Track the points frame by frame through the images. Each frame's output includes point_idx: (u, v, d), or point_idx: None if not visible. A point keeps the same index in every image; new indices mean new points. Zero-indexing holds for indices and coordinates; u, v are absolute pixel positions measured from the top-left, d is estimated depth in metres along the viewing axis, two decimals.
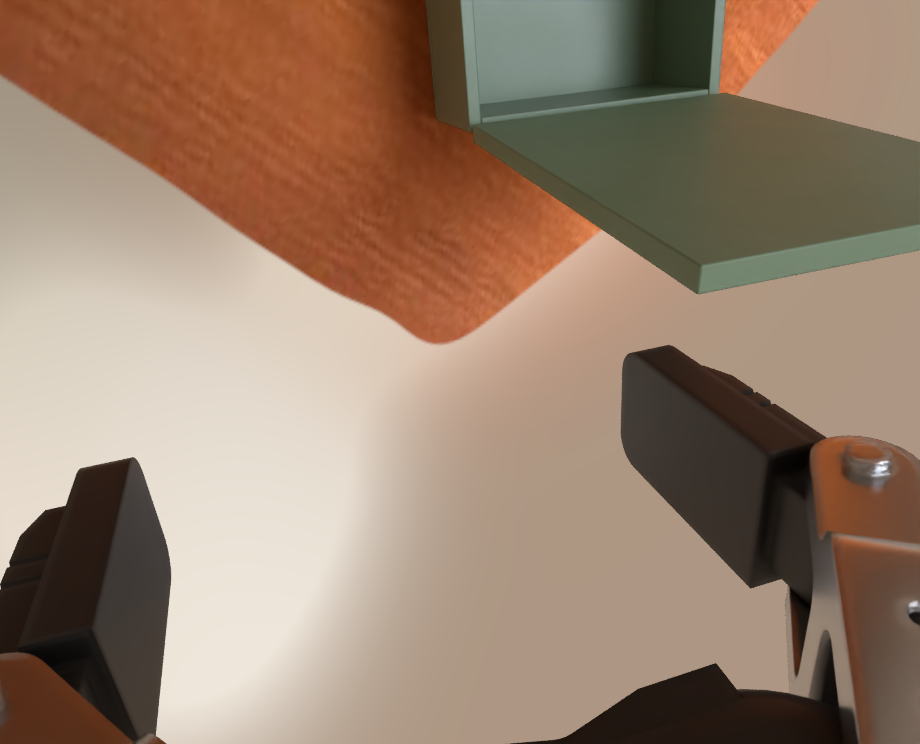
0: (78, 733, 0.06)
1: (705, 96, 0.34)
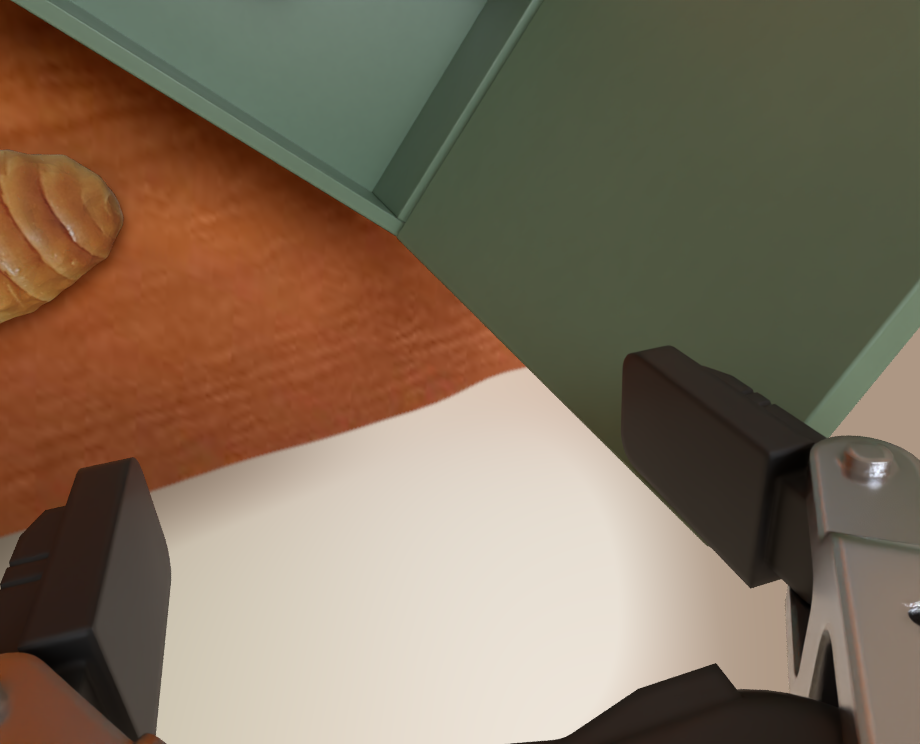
0: (78, 733, 0.06)
1: None
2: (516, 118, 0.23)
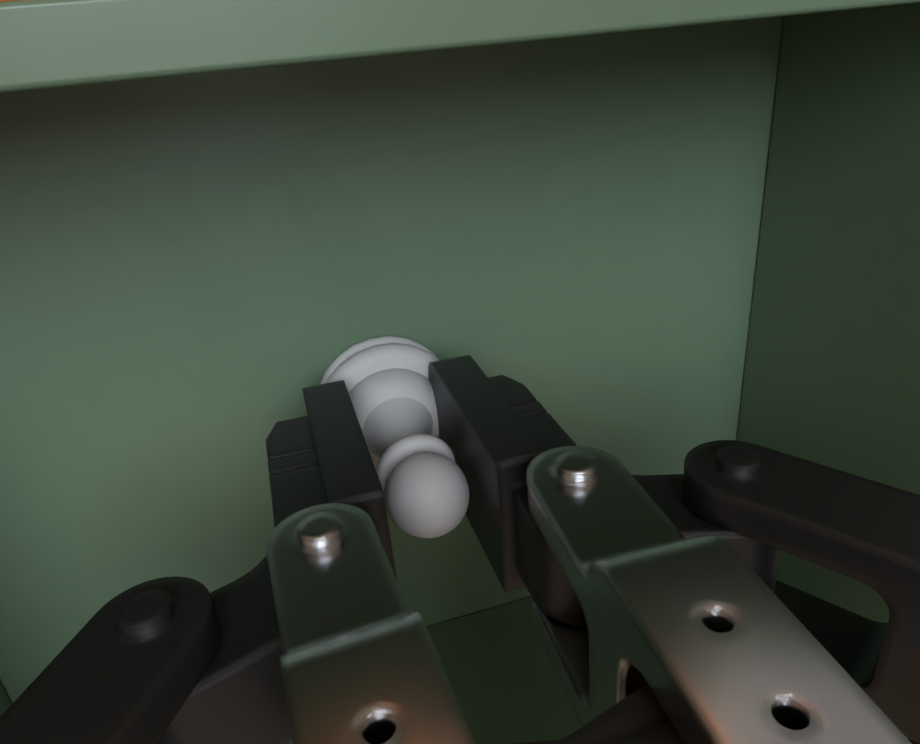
0: (377, 588, 0.07)
1: None
2: None
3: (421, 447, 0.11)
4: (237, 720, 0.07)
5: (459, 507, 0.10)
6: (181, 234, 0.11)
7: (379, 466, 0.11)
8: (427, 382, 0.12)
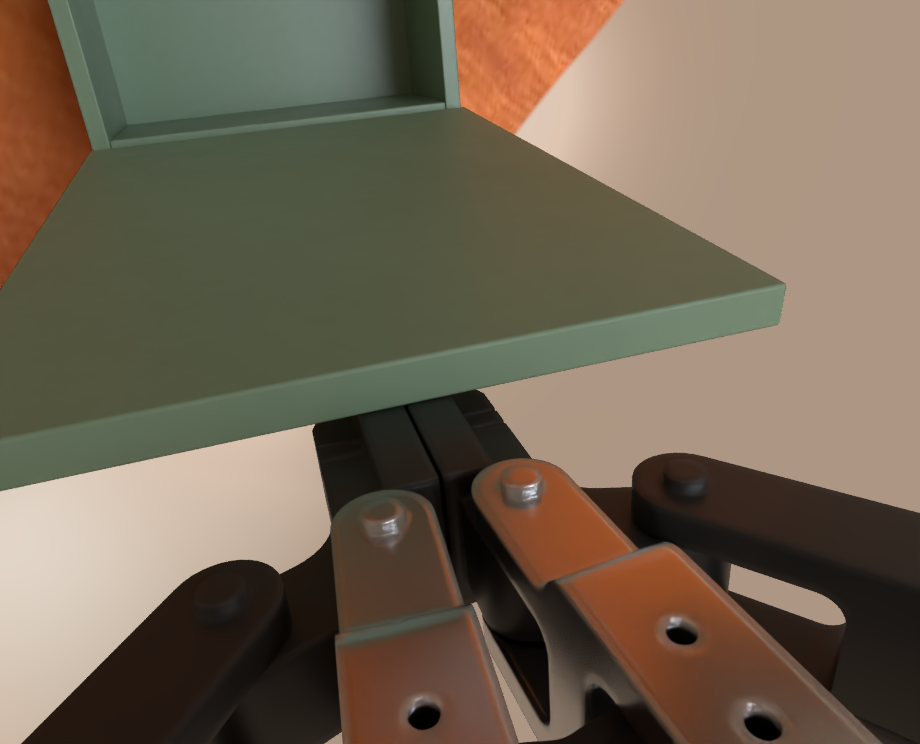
0: (434, 577, 0.07)
1: (432, 112, 0.26)
2: (266, 150, 0.22)
3: None
4: (302, 707, 0.07)
5: None
6: None
7: None
8: None
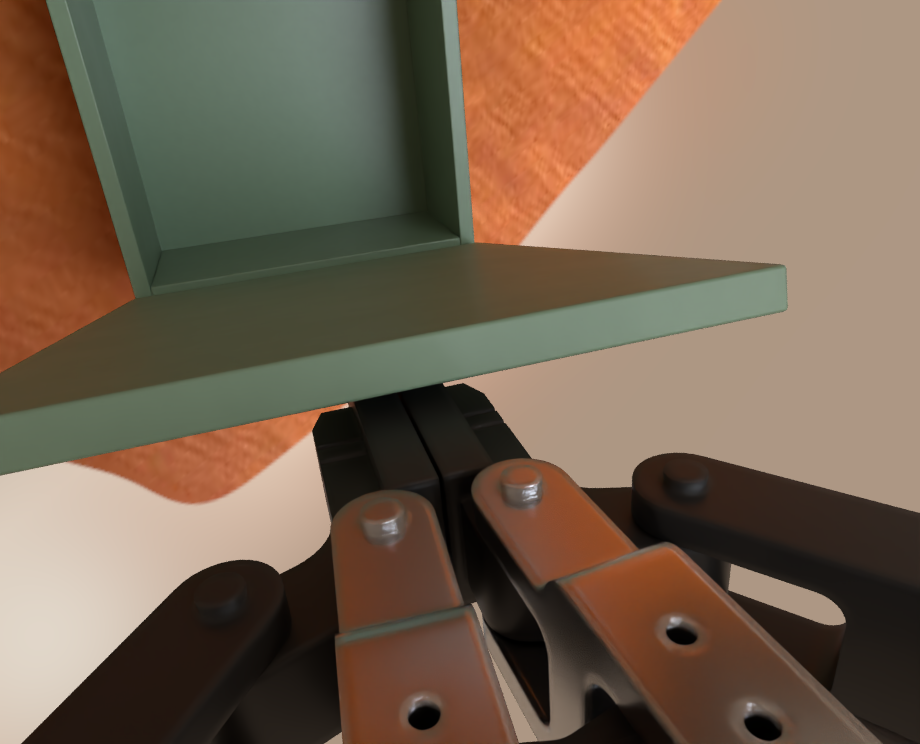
0: (434, 577, 0.07)
1: (447, 247, 0.28)
2: (292, 278, 0.24)
3: None
4: (302, 707, 0.07)
5: None
6: None
7: None
8: None
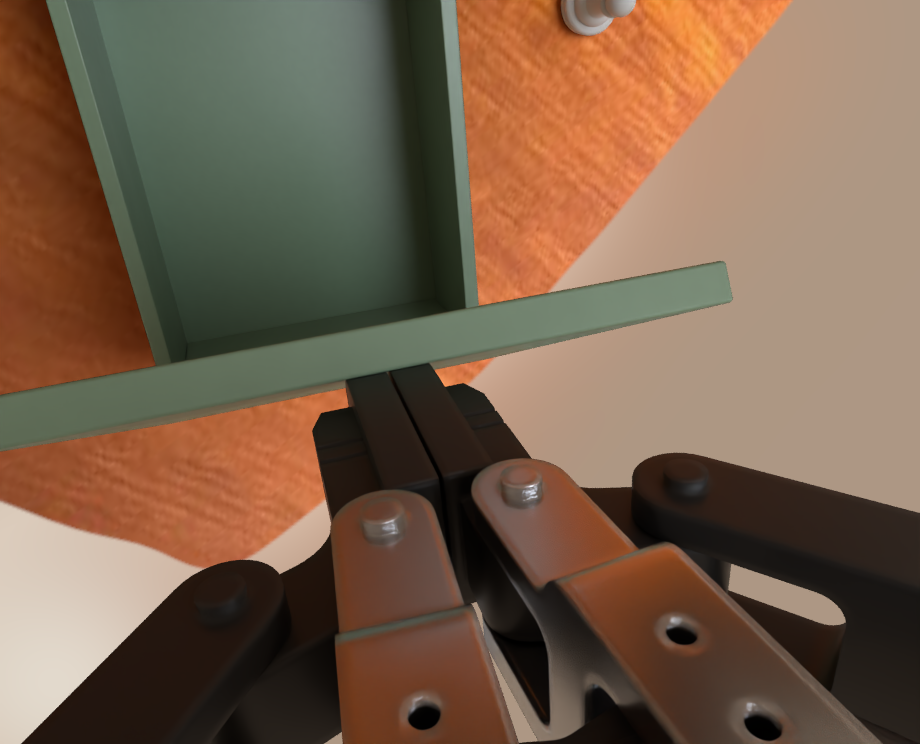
0: (433, 577, 0.07)
1: None
2: None
3: None
4: (302, 707, 0.07)
5: (628, 9, 0.29)
6: (356, 69, 0.30)
7: None
8: (607, 19, 0.32)
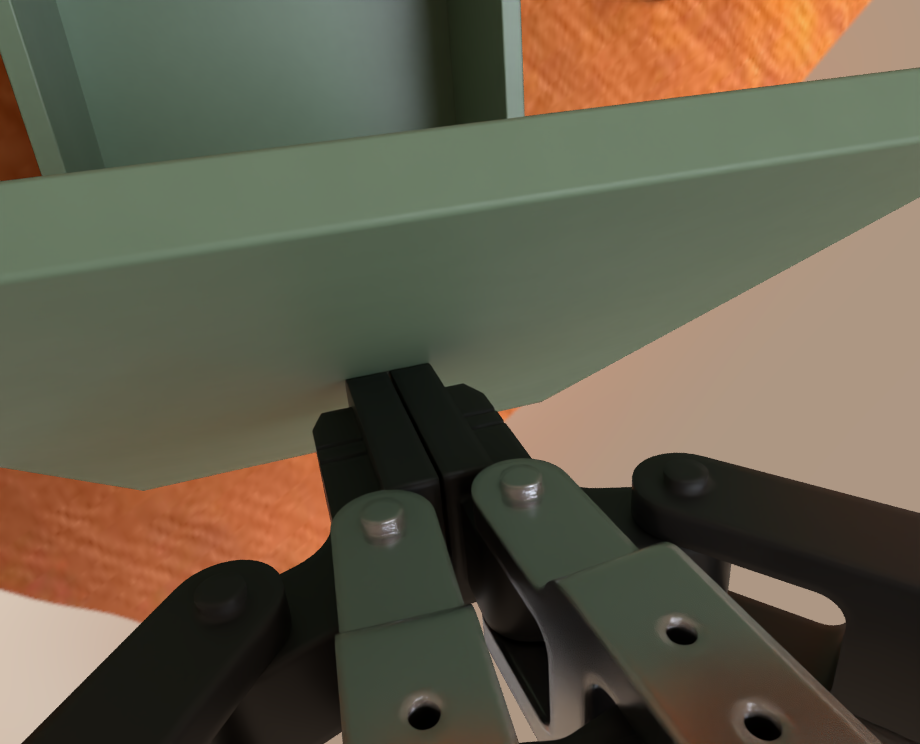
0: (434, 577, 0.07)
1: None
2: None
3: None
4: (302, 707, 0.07)
5: None
6: (379, 38, 0.24)
7: None
8: None
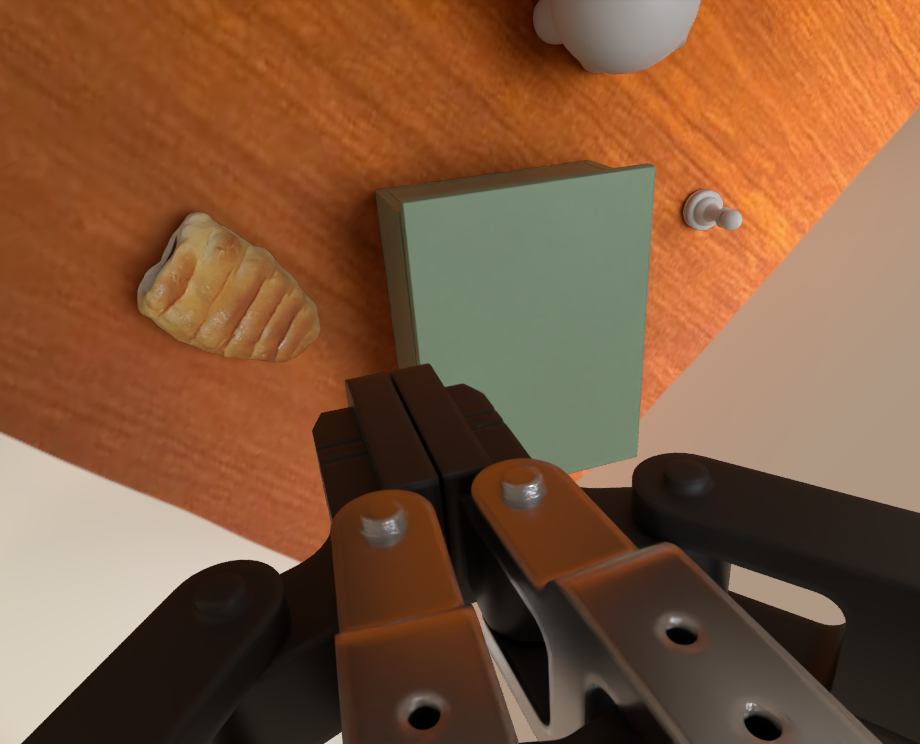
0: (434, 577, 0.07)
1: None
2: None
3: None
4: (302, 707, 0.07)
5: (737, 227, 0.43)
6: None
7: None
8: None
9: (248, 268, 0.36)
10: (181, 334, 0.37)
